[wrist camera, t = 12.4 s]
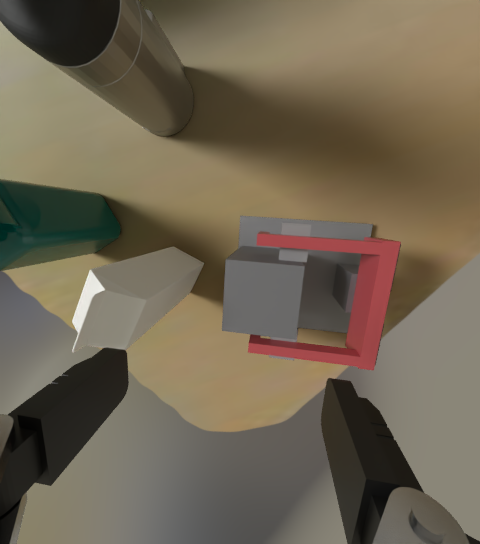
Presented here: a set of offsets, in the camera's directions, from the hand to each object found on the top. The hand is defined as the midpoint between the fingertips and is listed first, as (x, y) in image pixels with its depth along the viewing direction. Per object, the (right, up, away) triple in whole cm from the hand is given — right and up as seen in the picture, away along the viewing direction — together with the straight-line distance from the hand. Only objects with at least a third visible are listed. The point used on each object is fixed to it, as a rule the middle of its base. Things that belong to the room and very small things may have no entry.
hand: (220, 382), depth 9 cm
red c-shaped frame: (+10, +2, +21) cm, 23 cm away
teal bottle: (-23, +13, +32) cm, 41 cm away
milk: (-9, +5, +31) cm, 33 cm away
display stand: (+10, +4, +29) cm, 31 cm away
